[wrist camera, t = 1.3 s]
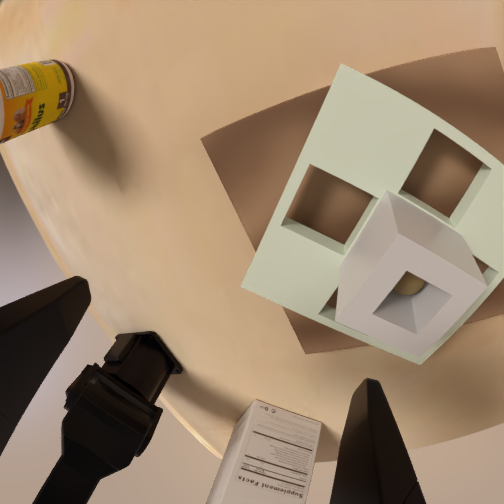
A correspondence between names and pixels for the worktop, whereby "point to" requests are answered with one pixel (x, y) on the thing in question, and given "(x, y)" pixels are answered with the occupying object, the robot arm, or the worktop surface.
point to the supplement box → (267, 458)
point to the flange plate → (384, 228)
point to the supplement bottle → (33, 96)
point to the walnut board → (349, 196)
